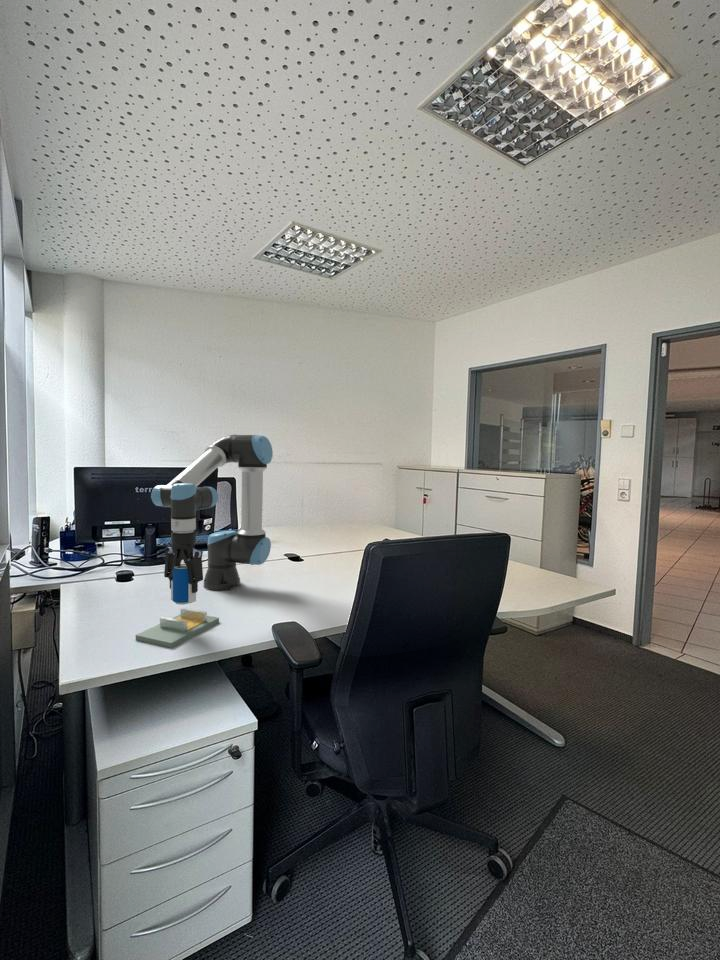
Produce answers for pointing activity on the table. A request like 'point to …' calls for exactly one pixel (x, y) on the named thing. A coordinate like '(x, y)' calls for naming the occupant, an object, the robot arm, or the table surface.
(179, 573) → the beverage can
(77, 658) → the table surface
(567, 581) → the table surface
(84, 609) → the table surface
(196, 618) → the chute bracket
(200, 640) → the table surface
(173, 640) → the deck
